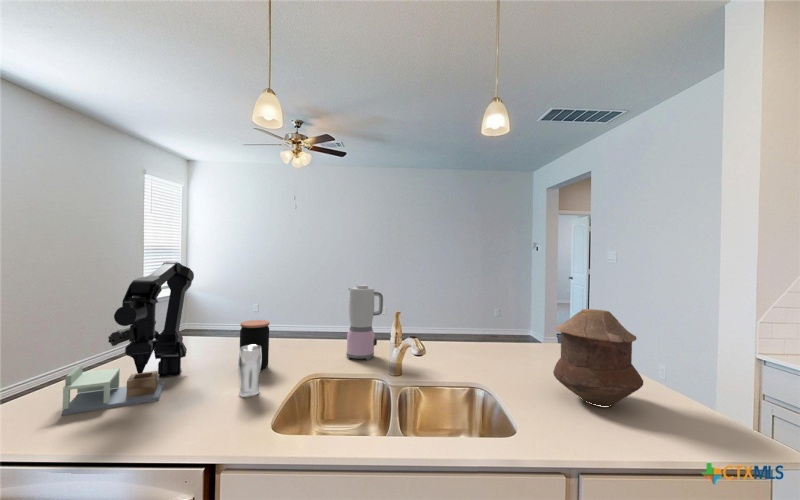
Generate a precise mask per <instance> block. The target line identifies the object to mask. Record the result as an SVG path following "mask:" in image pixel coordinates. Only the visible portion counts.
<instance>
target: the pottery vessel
mask: <svg viewBox="0 0 800 500" xmlns="http://www.w3.org/2000/svg"><path fill="white" fill-rule="evenodd" d="M555 330H556V331H557V332H559V333H560V358H559V359H558V361H557V362H556V364H555V366H554V368H553V371H552V372H553V375H554V377H555V379H556V380H557V381H558V382H559V383H560V384H561V385H563V387H566V389H567V390H569V391H570V392H572V393H573V394H574V395H577V396H578V397H579V398H580V397H581V398H582V399H583V400H585V401H587V402H590V403H592V404H596V405H601V406H610V405H613V404H614V405H615V404H616V403H618V402H620V401H622V400H623V399H625V398H627V397H629V396H630V395H632V394H633V393H635V392H637V391H638V390H640V389H641V388H642V387H643V385H644V379H643V377H642V376H641V374H640V373H639V372H638V370H637V369H636V368H635V366H634V365H633V363H632V362H633V361H632V360H633V359H632V354H633V342H635V341H637V336H636V335H634V334H633V333H632V332H630V331H629V330H627V329H626V328H625V327H624V326H623V325H622V324H621V322H620V321H619V320H618V319H617V317H616V316H614V314H612V312H610V311H609V310H604V309H603V310H602V309H593V308H583V309H581V310H580V311H578V312H577V313H576V314H574V315H573V316H571V317H570V318H569V319H567V320H566V321H564V322H562V323H561V324H559V325H557V326H556V327H555ZM581 398H580V399H581ZM582 399H581V400H582ZM583 400H582V401H583ZM585 401H584V402H585ZM614 405H613V406H614Z"/></svg>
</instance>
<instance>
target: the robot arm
mask: <svg viewBox="0 0 800 500" xmlns="http://www.w3.org/2000/svg"><path fill="white" fill-rule="evenodd" d="M194 278H195V273H194V271H193V270H192V269H191V268H190V267H189V266H188V267H187V266H185V265H182V263H180V262H178V261H165V262H163V263H162V264H161V266H159V267H158V268H156V269H155V270H154V271H152V273H150V274H149V275H147V276H142V277H138V278H135V279H134V280H132V281H131V283H130V284H129V285H128V288H127V291H126V293H125V295H124V296H123V299H122V303H121V304H122V305H121V307H118V308H117V309H116V311H115V312H114V315H113V319H114V321H115V322H116V324H117V325H120V326H123V327H127V326H129V327H128V328H125V329H122V330H116V331H113V332H111V334H110V335H108V336H107V337H108V343H110V345H111V347H114V346H115V347H116V346H117V345H119V344H122V343H124V342H126V341H129V343H128V344H127V345H126V346H125V349H124V350H125V351H124V354H125V355H126V356H127V357H130V358H132V359H133V362H134V365H135V369H136V373H138V374H140V373H142V372H144V370H145V368H146V365H148V363H149V360H150V358H151V356H152V354H153V353H154V358H155V360H159V359H160V360H159V362H158V363H157V371H158V377H159V378H164V377H165V378H166V377H174V376H180V375H181V372H182V359H183V358H184V357H186V355H187V351H188V350H187V347H186V346H185V344H184V340H183V339H184V338H183V335H182V333H181V332H180V326H181V321H182V315H183V314H182V313H183V309H184V308H183V307H184V301H185V295H186V292H187V291H188V290H189V289H190V287H191V286H192V282H193V280H194ZM165 283H166V285H167V286H168V288H169V290H170V291H169V292H170V293H169V298H168V303H167V309H166V316H165V322H164V327H163V330H162V331H161V332H158V331H157V330H156V324H157V320H156V304H157V303H159V301H158V299H157V298H158V296H159V295H160V293H161V292H162V290H163V289H162V286H163V285H165Z"/></svg>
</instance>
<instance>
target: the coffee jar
mask: <svg viewBox="0 0 800 500" xmlns="http://www.w3.org/2000/svg"><path fill="white" fill-rule="evenodd" d="M239 325H240V327H241V328H240V330H239V348H240V347H242V346H247V345H259V346H261V352H262V362H261V369H260V372H262V371H264V370H266V369H267V368H268V366H269V353H270V352H269V350H270V347H269V346H270V327H269V326H270V321H269V320H266V319H253V320H251V319H250V320H244V321H241V322H240V323H239Z"/></svg>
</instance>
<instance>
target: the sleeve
mask: <svg viewBox="0 0 800 500" xmlns="http://www.w3.org/2000/svg"><path fill="white" fill-rule="evenodd" d="M158 377H159V374H158V370H153V371H143V372H142V373H140V374H138V373H137V372H136V373H135V372H134V373H130V375H129V377H128V378H127V380H126V386H127V391H126V398H128V397H135V396H142V395H149V394H154V393H155V391H156V388H157V382H158Z"/></svg>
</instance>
